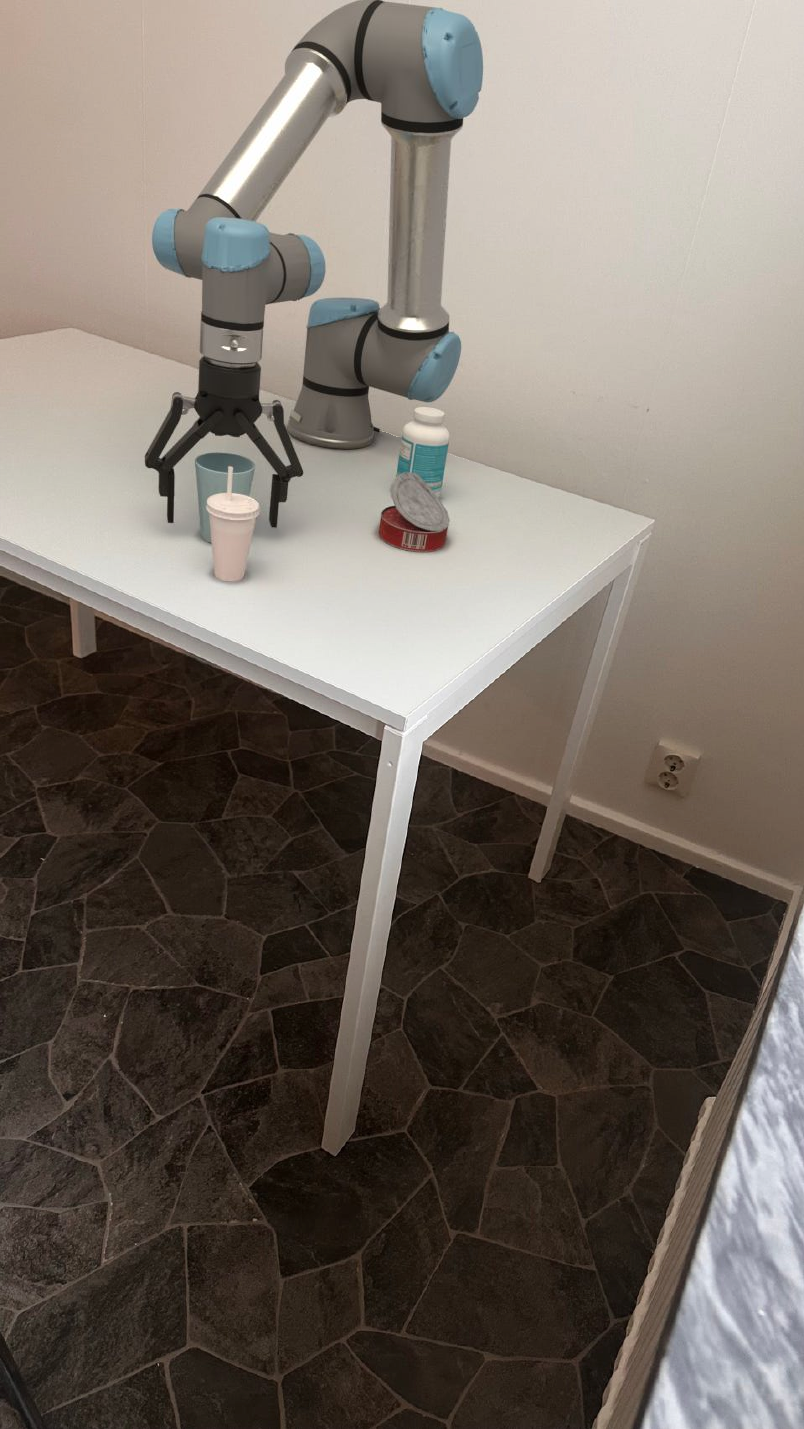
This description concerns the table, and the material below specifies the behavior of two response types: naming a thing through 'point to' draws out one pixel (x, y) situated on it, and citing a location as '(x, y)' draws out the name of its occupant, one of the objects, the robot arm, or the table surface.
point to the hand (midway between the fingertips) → (222, 521)
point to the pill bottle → (425, 447)
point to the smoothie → (231, 531)
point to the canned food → (414, 516)
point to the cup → (220, 481)
